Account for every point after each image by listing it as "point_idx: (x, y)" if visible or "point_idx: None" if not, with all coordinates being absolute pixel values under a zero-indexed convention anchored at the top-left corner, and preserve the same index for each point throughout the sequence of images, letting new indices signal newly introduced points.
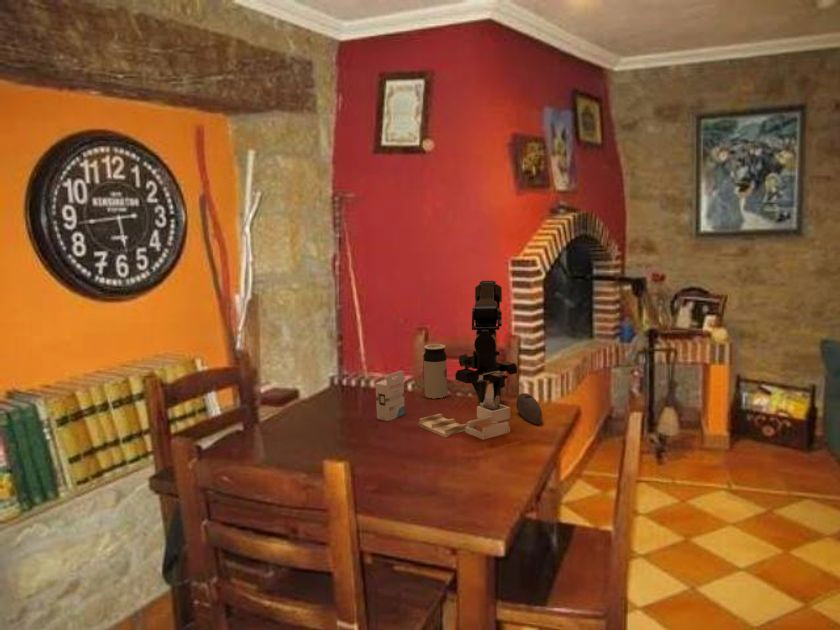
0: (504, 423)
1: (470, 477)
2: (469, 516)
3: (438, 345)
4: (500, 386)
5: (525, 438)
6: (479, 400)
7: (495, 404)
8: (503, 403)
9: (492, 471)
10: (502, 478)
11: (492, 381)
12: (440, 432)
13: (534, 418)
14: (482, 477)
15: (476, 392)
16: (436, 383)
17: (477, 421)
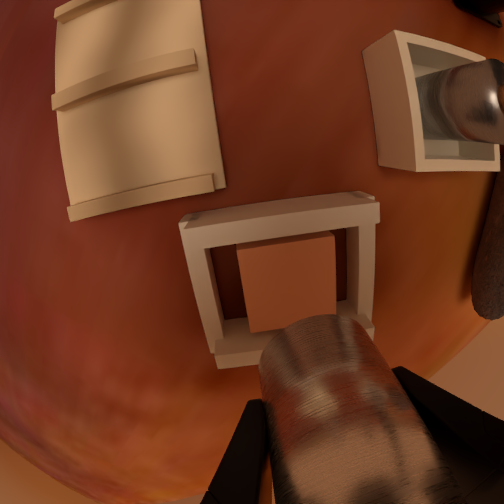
0: None
1: (97, 453)
2: (83, 487)
3: None
4: None
5: None
6: (244, 415)
7: (472, 138)
8: (500, 27)
9: (145, 461)
10: (153, 477)
11: (483, 490)
12: (66, 182)
13: (478, 300)
14: (118, 463)
15: (214, 483)
16: None
17: (259, 238)
